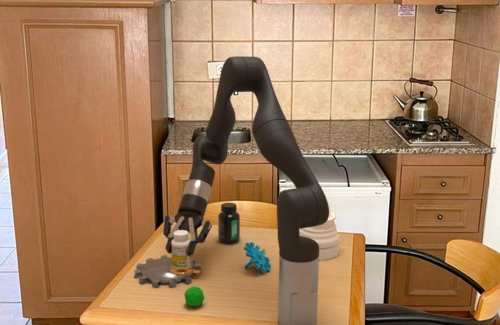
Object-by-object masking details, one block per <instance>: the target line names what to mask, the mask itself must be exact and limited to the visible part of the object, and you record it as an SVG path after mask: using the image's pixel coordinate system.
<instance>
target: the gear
mask: <svg viewBox="0 0 500 325" xmlns="http://www.w3.org/2000/svg"><path fill="white" fill-rule="evenodd" d="M243 250H244V251H245V252H244V253H245V256H246V257H248V258H250V259H249V261H248V262H247V263H246V264H245V265H244V268H246V269H248V268H249V267H250V266H251V265H253V264H256V265H254V267H255V268H256V270H259V269H260V271H261V272H262V273H267V272H269V271H271V267H272V264H271V263H270V261H271V260H270V257H268V256H266V249H265V248H262V249H261V246H260V245H259V244H256V245H255V243H254V242H252V241H251V242H249V241H248V242H246V243H245V246H244V247H243Z"/></svg>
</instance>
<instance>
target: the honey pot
mask: <svg viewBox="0 0 500 325" xmlns="http://www.w3.org/2000/svg"><path fill="white" fill-rule="evenodd" d="M336 219H337V215H336V213H334V212H332V211H331V210H330V209H329V218H328V220H327V221H326V223H324V224H322V225H319V226H314V227H308V228H302V229H299V233H300V236H303V237H307V238H310V239H313V240H314V241H316V242H317V243H318V245H319V261H323V260H324V261H325V260H330V259H331V260H332V259H333V258H336V257H337V256H339V250H340V236H339V232H338V229H337V225H336V223H335V220H336Z"/></svg>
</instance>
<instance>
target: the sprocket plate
mask: <svg viewBox="0 0 500 325" xmlns="http://www.w3.org/2000/svg"><path fill="white" fill-rule="evenodd" d="M191 260H192V264H191V266H190V267H188V268H185V269H177V268H174V267H173V266H172V256H169V257H168V255H167V254H166V255H165V254H164V255H160V258H155V259H154V258H152V257H150V258H146V259H145V263H140V262H139V263H138V264H137V265H136V267H135V268H136V269H135V270H134V278H135V279H138V282H139V283H140V284H141V285H145V284H148V283H150V284H151V287H152V288H160V287H161V286H168V287H169V288H170V289H171V288H177V285H178V284H182V283H183V284H185V285H189V284H192V283H193V278H195V279H199V278H200V277H201V271H202V265H201V263H196V259H195V258H192V257H191Z"/></svg>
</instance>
